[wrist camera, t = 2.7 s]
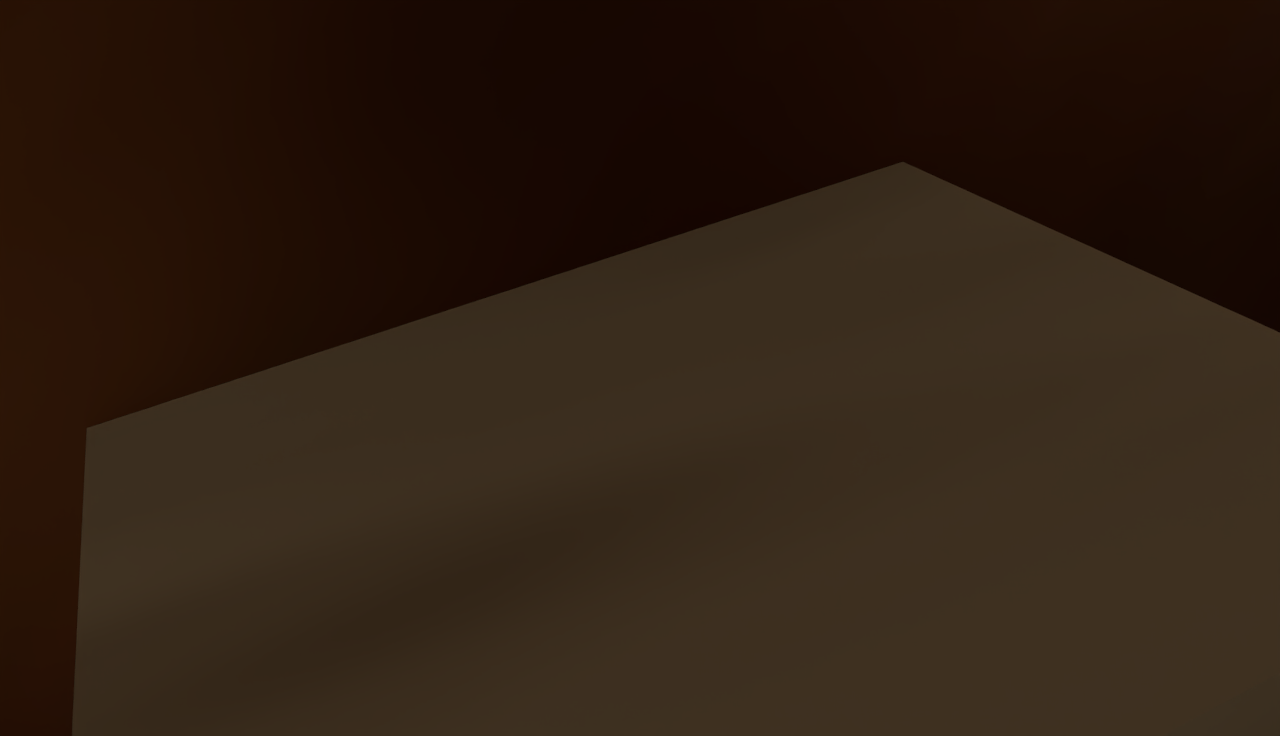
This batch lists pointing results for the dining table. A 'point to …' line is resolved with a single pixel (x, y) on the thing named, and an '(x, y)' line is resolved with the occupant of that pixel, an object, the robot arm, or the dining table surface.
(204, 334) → the dining table surface
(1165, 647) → the birch block
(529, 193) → the dining table surface
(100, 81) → the dining table surface
